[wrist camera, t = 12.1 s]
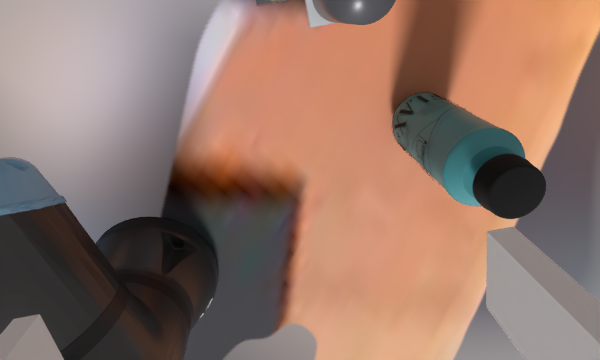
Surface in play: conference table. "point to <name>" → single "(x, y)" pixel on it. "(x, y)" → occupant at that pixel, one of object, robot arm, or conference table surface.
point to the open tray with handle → (346, 11)
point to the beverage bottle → (468, 156)
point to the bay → (267, 2)
